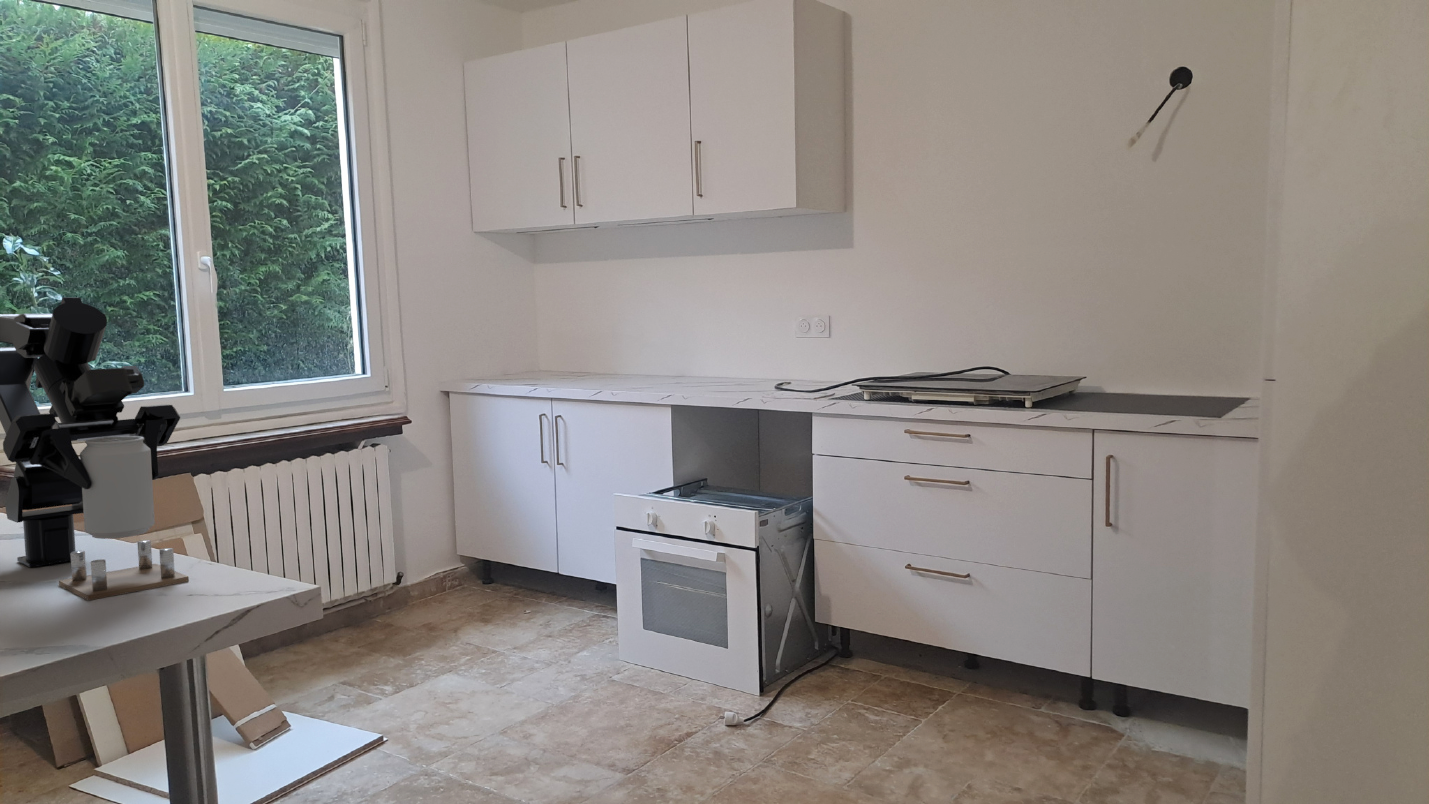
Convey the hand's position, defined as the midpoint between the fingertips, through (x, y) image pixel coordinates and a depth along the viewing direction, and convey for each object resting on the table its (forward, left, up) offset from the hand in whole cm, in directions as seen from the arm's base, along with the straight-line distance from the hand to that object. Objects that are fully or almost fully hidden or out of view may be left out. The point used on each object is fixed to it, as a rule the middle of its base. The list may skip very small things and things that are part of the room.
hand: (123, 482), depth 120 cm
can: (-1, 0, -7) cm, 7 cm away
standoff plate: (-1, 0, -13) cm, 13 cm away
